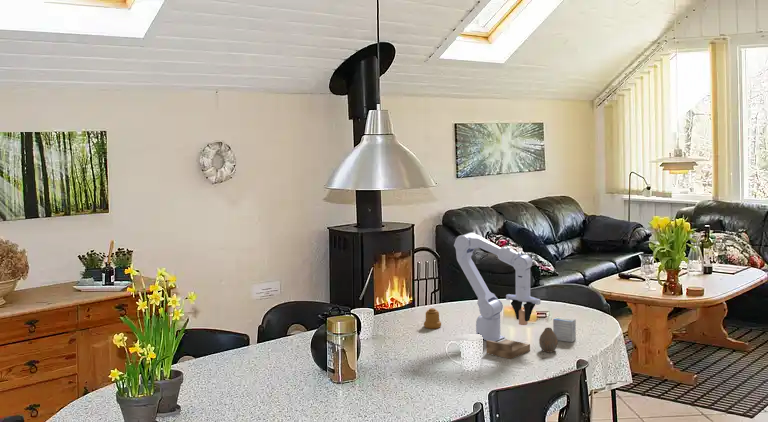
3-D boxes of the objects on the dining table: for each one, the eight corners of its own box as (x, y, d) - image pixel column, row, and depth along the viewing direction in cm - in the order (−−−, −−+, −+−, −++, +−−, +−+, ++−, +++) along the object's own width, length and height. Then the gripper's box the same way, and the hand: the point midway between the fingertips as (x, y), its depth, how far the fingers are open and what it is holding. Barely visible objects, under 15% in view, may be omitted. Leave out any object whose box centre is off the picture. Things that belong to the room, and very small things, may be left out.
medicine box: (576, 339, 312) (576, 318, 311) (572, 342, 308) (572, 321, 307) (556, 337, 316) (556, 316, 315) (553, 340, 313) (553, 319, 312)
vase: (557, 353, 295) (557, 331, 294) (539, 353, 296) (539, 330, 295) (557, 348, 302) (557, 326, 301) (539, 347, 303) (539, 325, 302)
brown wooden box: (486, 353, 298) (486, 340, 297) (505, 345, 307) (505, 333, 306) (510, 358, 290) (510, 345, 289) (530, 350, 300) (529, 337, 299)
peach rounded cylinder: (517, 324, 308) (517, 310, 308) (521, 322, 311) (521, 308, 310) (524, 325, 306) (524, 311, 306) (529, 323, 309) (529, 310, 308)
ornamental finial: (426, 324, 341) (443, 325, 339) (421, 328, 334) (438, 329, 332) (426, 306, 340) (443, 307, 338) (421, 310, 333) (438, 311, 331)
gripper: (544, 286, 305) (544, 320, 307) (512, 281, 315) (512, 315, 316) (535, 289, 300) (535, 324, 301) (502, 285, 309) (503, 318, 311)
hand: (523, 319), depth 308 cm, fingers closed on peach rounded cylinder, 3 cm apart
